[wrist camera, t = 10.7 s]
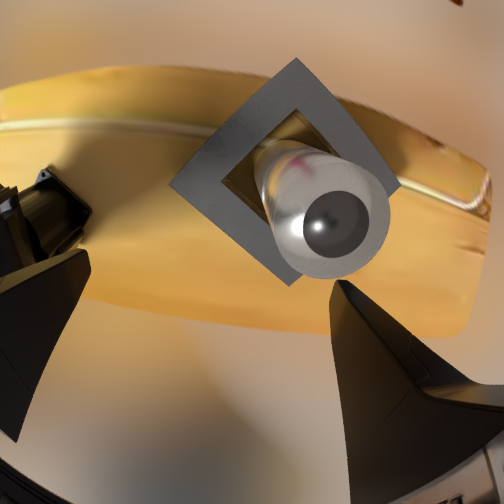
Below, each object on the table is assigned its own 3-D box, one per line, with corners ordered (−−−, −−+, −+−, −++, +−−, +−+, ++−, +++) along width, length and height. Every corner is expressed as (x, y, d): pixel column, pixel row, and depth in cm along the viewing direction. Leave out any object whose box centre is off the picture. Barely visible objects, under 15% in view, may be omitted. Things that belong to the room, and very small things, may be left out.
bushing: (242, 186, 21) (251, 254, 11) (272, 128, 19) (315, 137, 9) (299, 213, 22) (350, 295, 12) (330, 159, 20) (411, 201, 10)
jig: (175, 176, 20) (168, 184, 18) (289, 63, 17) (296, 57, 15) (284, 270, 25) (288, 286, 22) (386, 177, 21) (401, 185, 19)
